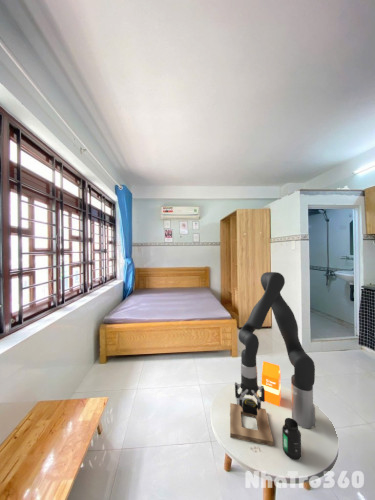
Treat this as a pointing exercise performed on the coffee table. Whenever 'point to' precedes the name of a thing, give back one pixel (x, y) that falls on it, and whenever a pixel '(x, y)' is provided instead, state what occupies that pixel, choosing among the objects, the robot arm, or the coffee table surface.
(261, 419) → the board
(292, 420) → the supplement bottle
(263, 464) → the coffee table surface
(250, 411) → the tape measure
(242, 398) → the mat
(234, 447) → the coffee table surface
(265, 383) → the orange juice
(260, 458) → the coffee table surface
